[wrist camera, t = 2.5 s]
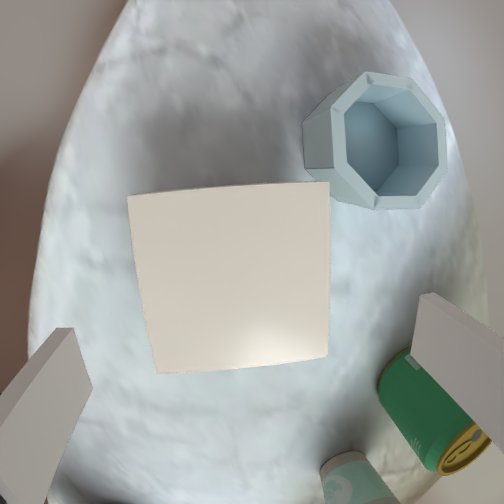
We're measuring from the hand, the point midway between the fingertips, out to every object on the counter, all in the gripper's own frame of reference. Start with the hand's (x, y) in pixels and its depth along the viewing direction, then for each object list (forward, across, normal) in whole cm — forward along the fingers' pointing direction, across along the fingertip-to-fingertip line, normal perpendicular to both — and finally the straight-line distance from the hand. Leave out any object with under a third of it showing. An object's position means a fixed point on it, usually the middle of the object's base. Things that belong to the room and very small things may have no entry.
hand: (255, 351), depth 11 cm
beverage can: (+14, +17, -14) cm, 26 cm away
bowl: (+13, +10, +8) cm, 18 cm away
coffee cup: (+13, +11, -27) cm, 32 cm away
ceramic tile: (+9, 0, 0) cm, 9 cm away
